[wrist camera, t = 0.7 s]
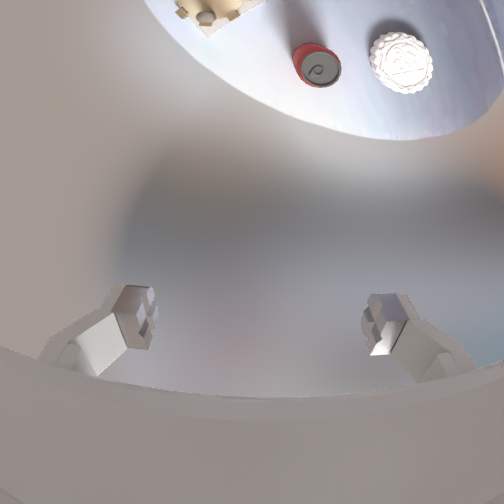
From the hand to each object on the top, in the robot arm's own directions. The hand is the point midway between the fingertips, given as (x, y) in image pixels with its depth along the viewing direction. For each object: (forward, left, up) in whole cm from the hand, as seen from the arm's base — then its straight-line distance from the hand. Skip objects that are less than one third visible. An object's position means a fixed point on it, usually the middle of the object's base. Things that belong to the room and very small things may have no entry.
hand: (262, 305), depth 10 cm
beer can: (-7, +1, -46) cm, 47 cm away
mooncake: (-22, +8, -47) cm, 52 cm away
